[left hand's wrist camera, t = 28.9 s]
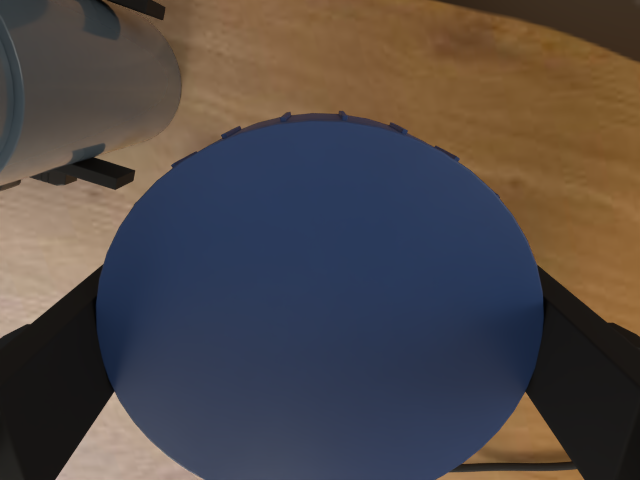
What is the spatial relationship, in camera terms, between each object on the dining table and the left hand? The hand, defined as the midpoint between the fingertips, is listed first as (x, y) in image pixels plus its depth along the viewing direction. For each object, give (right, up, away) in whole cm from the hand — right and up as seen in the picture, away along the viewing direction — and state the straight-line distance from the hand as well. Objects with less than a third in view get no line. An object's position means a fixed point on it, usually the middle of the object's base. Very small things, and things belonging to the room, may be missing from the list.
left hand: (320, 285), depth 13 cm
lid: (0, -1, -3) cm, 3 cm away
